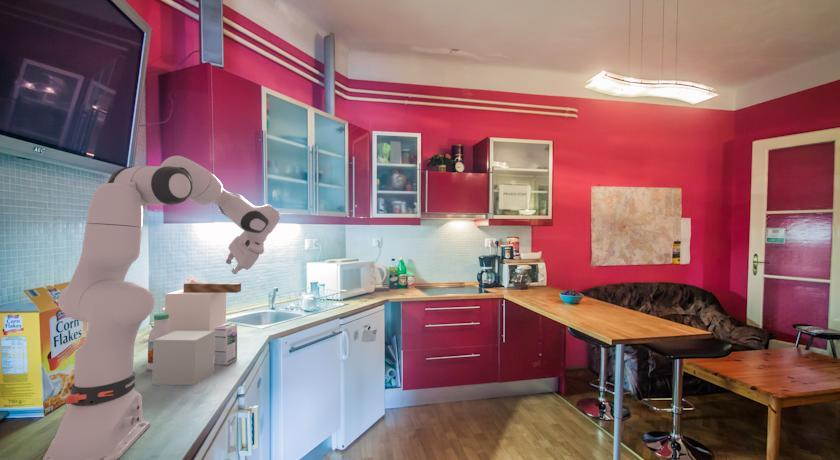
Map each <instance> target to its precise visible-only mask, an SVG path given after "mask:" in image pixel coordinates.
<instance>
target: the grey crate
mask: <svg viewBox="0 0 840 460" xmlns="http://www.w3.org/2000/svg"><path fill="white" fill-rule="evenodd" d="M214 367H215V364H214V331H174V332H171V333H169V334H166V335H164V336H162V337H159V338H157V339H154V340H153V371H152V379H151V380H152V382H151V383H152V385H153V386H196V385H197V384H199V383H200V382H201V381H203V380H204V379H206V378H207V377H209V376H210V375H211V374H213V373H214V371H215V369H214Z"/></svg>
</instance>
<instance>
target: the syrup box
mask: <svg viewBox="0 0 840 460" xmlns="http://www.w3.org/2000/svg"><path fill="white" fill-rule="evenodd" d="M237 360H238V324H236V323H226V324H224V325H221V326H218V327H215V328H214V365H221V366H222V365H223V366H228V365H229V364H231V363H233V362H235V361H237Z"/></svg>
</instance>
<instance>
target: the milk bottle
mask: <svg viewBox="0 0 840 460" xmlns="http://www.w3.org/2000/svg"><path fill="white" fill-rule="evenodd" d="M168 319H169V314H168V313H165V312H163V313H156V314H154V315H153V321H154V323H153V327H152V328H151V330H150V332H149V335H148V339H147V340H148V341H147V342H148V343H147V370H148V371H152V372H153V340H154V339H157V338H159V337H162V336H164V335H166V334H169V333H171V332H173V331H172V329H171V327H170V326H169V323H168Z"/></svg>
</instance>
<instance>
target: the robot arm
mask: <svg viewBox="0 0 840 460" xmlns="http://www.w3.org/2000/svg"><path fill="white" fill-rule="evenodd" d="M187 200H190V201H191V202H194V203H196V204H199V205H202V206H206V205H210V204H215V205H217V206H218V208H219V210H220V213H222V214H223V215H224V216H226V217H227V218H228V219H229V220H231V221H232V222H233V223H234V224H235V225H237V226H238V228H240V229H241V230H243V231H242V233H240V234H239V235H237V236H236V237H235V238H234V239H233V240H232V241H231V243H230V244H229V245H228V250H229V254H228V256H227V258H226V260H225V264H227V265H231V264H232V263H233V260H234V259H235V261H236V263H237V264H236V267H233V268H232V269H231V273H232V274H233V275H237V274H238V273H239V272H240V271H241V270H242V269H244V270H249V269H251V268H252V267H253V266H254V265H255V263H256V262H257V261H258V260H259V258H260V255H263V254H264V252H265V248H264V247H265V245H264V242H265V241H266V240H267V237H268V236H269V235H270V234H271V233H272V232H273V231H274V230H275V228H276V226H277V225H278V224H279V221H280V219H281V213H280V212H279V211H278V210H277V209H276V208H275V207H274V206H272V205H271V204H267V203H266V204H265V205H261V206H256V205H254V204H252V203H251V202H250V201H248V200H247V199H246V198H245V197H244V196H243V195H241V194H239V193H234V192H229V191H227V189H224V187H223V183H222V182H221V181H220V179H219V178H217V177H216V175H215V174H213V173H212V172H211V171H210V170H208V169H207V168H205V167H203V166H202V165H201V164H199V163H197V162H195V161H193V160H191V159H190V158H187V157H186V156H182V155H173V156H170V157H167V158H166V159H165V160H163V161H162V163H161V164H160V166H159V165H157V166H154V165H140V166H139V165H137V166H125V167H122V168H120V169H117V170H116V171H114V172H113V173H112V174H111V175H110V177H109V178H108V182H107V183H103V184H101V185H99V186H98V187H96V188H95V190H94V192H93V195H92V197H91V200H90V204H89V205H88V209H87V215H86V220H85V227H84V234H83V242H82V248H81V253H80V257H79V261H78V264H77V265H76V268H75V270H74V273H73V275H72V277H71V279H70V282H69V283H68V285H66V286H65V287H64V288H63V289H62V290H61V291H60V292H59V295H58V298H57V304H58V305H57V306H58V308H59V309H60V311H61V312H62V313H64V314H65V315H66V316H68V317H69V318H71V319H73V320H76V321H78V322H79V321H80V322H84V323H87V329H86V330H87V331H86V334H85V337H84V340H83V343H82V344H81V345H80V346H79V347H78V348H77V349H76V350H75V353H74V371H73V372H74V374H73V377H74V378H73V379H74V380H73V383H72V384H71V388H70V392H69V394H68V395H66V399H65V403H66V408H65V410H64V413H63V416H62V418H61V421H60V424H59V425H58V427H57V430H56V432H55V433H56V434H55V436H54V438H53V439H52V441H51V442H50V445H49V446H48V448H47V450H46V452H45V454H44V455H43V458H42V460H118V459H119V458H121V457H122V455H124V454H125V453H126V451H127V450H128V449H129V448H130V447H131V446H132V445H133V444H134V443H135V442H136V441H137V440H138V439H139V438H140V437H141V435H143V433H144V432H145V431H146V430H148V429H149V427H150V426H151V424H150V421H149V420H146V419H143V418H144V417H143V400H142V399H143V398H142V394H140V393H139V392H138V391H137V390H136V389H135V387H136V373H135V371H134V356H135V355H134V354H135V353H134V352H135V351H134V350H135V342H136V338H137V334H138V333H139V330H140V327H141V325H142V323H143V322H144V321H145V320H146V319H147V318H148V317H149V316H150V315H151V314H152V312H153V310H154V307H155V297H154V295H153V292H152V291H150V290H149V289H148V288H146V287H145V286H142V285H140V284H138V283H135V282H133V281H125V279H126V276H127V274H128V271H129V269H130V267H131V266H132V264H133V263H135V262H136V261H137V260H138V258H139V257H140V253H141V244H142V236H143V235H142V234H143V224H144V223H143V221H144V212H145V209H146V208H147V206H166V205H168V206H173V205H178V204H181V203H183V202H186V201H187Z"/></svg>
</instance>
